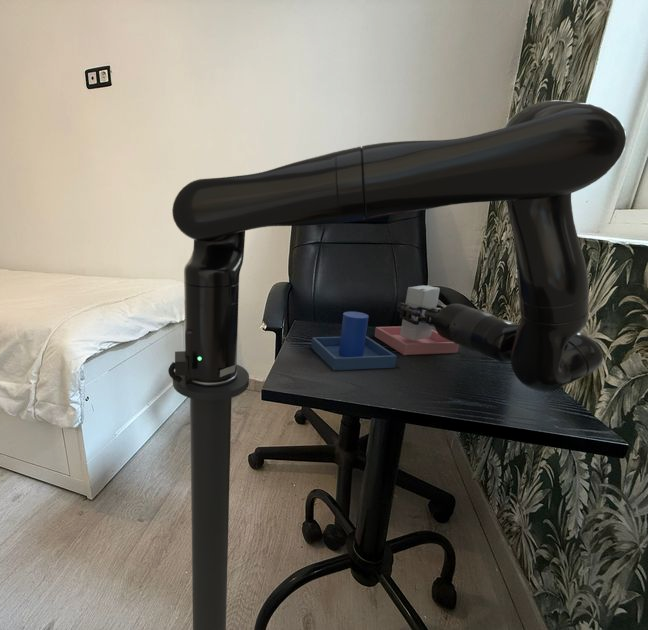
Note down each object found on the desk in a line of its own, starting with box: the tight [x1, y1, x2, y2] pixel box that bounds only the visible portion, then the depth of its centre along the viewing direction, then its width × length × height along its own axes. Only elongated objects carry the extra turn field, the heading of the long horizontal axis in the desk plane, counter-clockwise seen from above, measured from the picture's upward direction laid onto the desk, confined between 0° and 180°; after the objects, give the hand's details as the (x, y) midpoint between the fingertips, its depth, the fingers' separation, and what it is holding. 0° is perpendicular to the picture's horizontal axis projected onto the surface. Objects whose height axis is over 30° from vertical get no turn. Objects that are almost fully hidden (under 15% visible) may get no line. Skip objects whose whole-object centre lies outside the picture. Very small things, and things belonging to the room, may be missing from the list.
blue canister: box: [339, 311, 370, 357], centre depth 75 cm, size 5×5×9 cm
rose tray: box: [374, 325, 460, 356], centre depth 85 cm, size 13×12×2 cm
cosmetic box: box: [400, 284, 441, 341], centre depth 83 cm, size 6×4×12 cm
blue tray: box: [310, 335, 398, 371], centre depth 76 cm, size 13×12×2 cm
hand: (414, 306), depth 85 cm, fingers closed on cosmetic box, 7 cm apart
